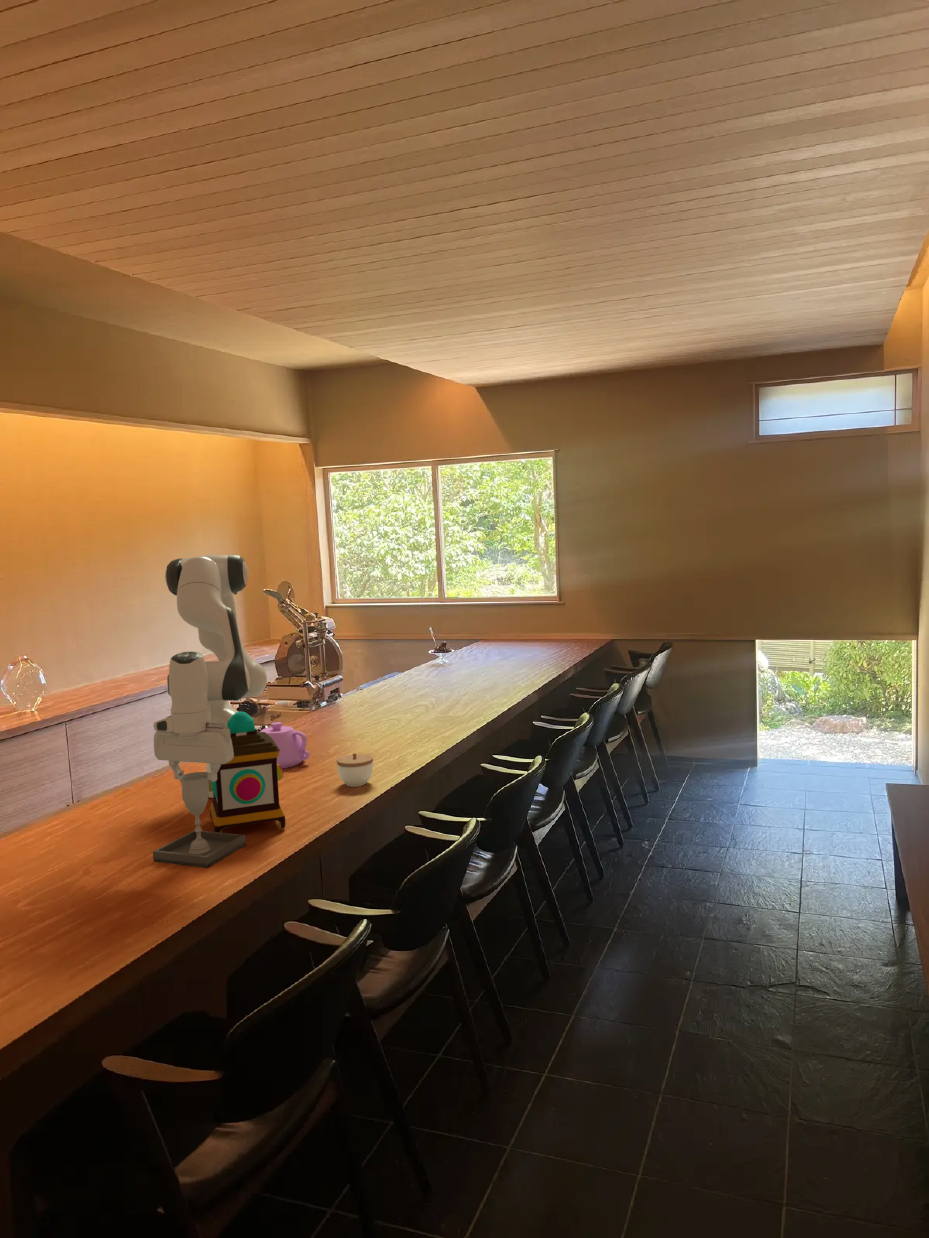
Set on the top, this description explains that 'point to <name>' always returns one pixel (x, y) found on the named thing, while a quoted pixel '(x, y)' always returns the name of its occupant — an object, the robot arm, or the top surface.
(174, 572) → the robot arm
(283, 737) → the teapot
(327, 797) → the top surface
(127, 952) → the top surface
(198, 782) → the chalice
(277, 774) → the decorative lantern
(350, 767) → the lidded jar
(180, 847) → the tray
